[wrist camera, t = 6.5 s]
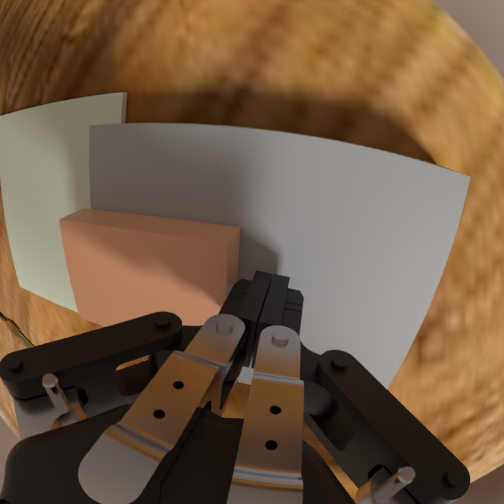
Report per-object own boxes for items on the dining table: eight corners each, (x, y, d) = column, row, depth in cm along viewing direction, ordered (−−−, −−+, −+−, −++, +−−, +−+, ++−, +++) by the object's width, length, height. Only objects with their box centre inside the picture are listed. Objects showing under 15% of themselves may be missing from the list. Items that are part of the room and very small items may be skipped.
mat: (127, 92, 15) (123, 92, 15) (136, 329, 23) (133, 333, 22) (3, 115, 18) (-1, 116, 17) (22, 284, 25) (20, 286, 25)
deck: (437, 164, 13) (470, 176, 10) (372, 362, 19) (377, 404, 16) (131, 122, 16) (89, 125, 12) (138, 312, 22) (111, 342, 18)
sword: (117, 409, 31) (115, 413, 30) (112, 417, 33) (109, 421, 32) (-11, 290, 29) (-15, 293, 28) (-10, 306, 31) (-13, 309, 30)
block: (240, 227, 13) (227, 244, 11) (235, 335, 15) (224, 360, 14) (83, 208, 14) (58, 219, 13) (98, 300, 17) (79, 317, 15)
